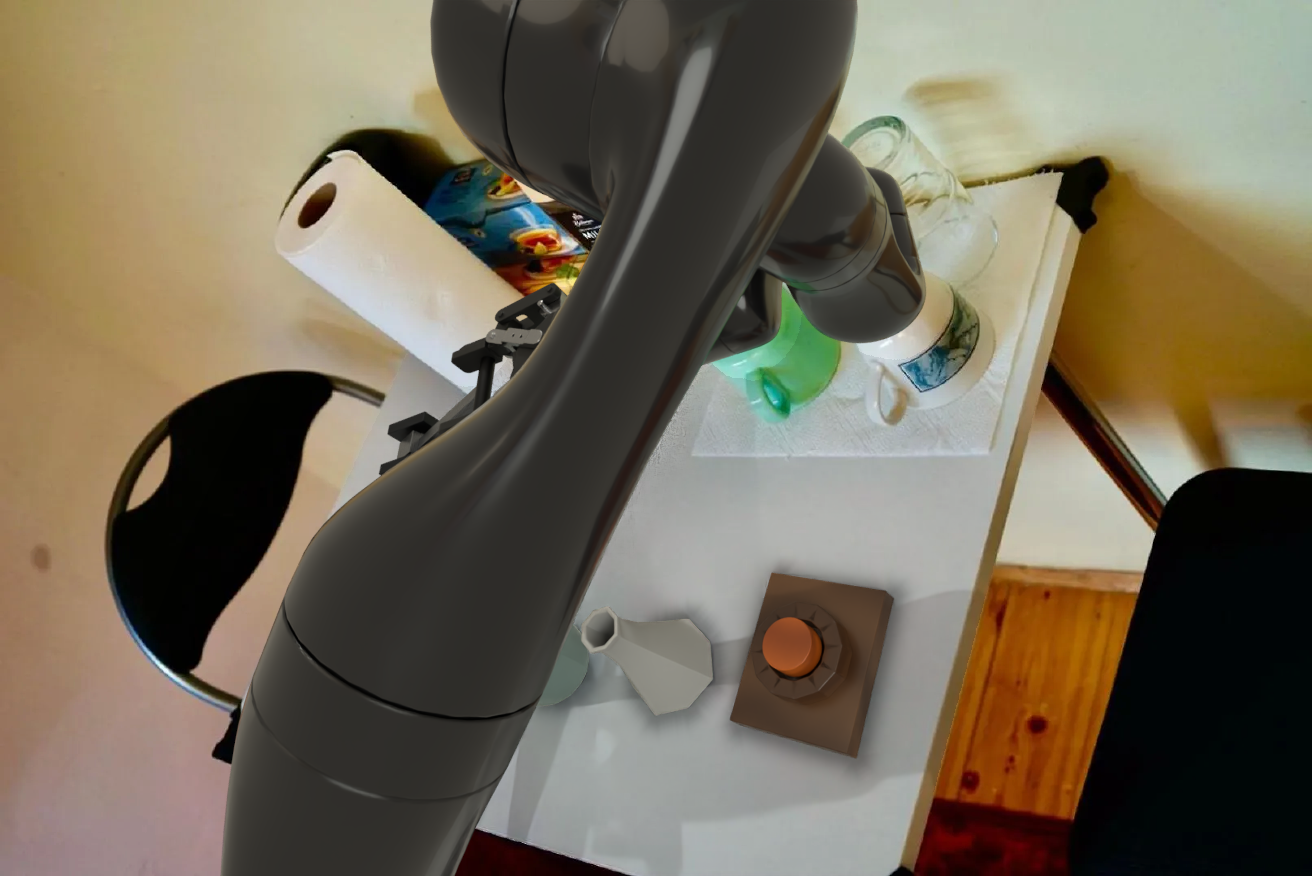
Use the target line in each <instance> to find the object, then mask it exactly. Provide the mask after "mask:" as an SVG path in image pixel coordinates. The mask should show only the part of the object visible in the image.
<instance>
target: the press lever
mask: <svg viewBox="0 0 1312 876" xmlns="http://www.w3.org/2000/svg"><path fill="white" fill-rule="evenodd" d="M495 363H496V361H495V359H494V358H492V357H489V356H485V357H482V358H481V360H480V366H479V370H478V373H477V378H476V385H475V387H474V388H473V389H472V390H470V391H469V392H468V393H467V394H466V395H465V396H464V397H463V398H462V399H460V400H459V401H458V402H457V403H456V405H454V406H453V407H452V408H451V409H450V410H449V411H447V412H446V414H444V415H443V416H442V417H441V418H440V419H438V420H439V421H438V422H437V423H436V424H435V425H434V426H433V427H432V428H430V429H429V430H428V431H427V432H426V433H425V434H422V433H420V432H417V431H414V430H413V431H412V432H411V433H410V434H409V435H408V436H407V437H406V438H405V439H403V440H402V441H401V442H399V445H398V449H397V455H396V459H397V458H400V457H403V456H406V455H409V454H412V453H414V452H416V451H417V450H419V449H420V448H422V447H423V446H425V445H426V444H428V443H429V442H431V441H432V440H434V439H435V438H437V437H438V436H440V435H439V433H438V432H439V426H440V424H441V423H443V422H446V421H449V420H452V419H455V418H458V417H461V416H464V415H466V414H469V413H472V412H473V411H475V410H476V409H478V408H479V407H480V406H482V405H483V404H484V403H485V402H486V401H488V400H489V399H490V398H491V397H492V392H493V391H492V390H493V384H494V377H495V369H496V364H495Z"/></svg>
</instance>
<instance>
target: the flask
mask: <svg viewBox="0 0 1312 876" xmlns="http://www.w3.org/2000/svg"><path fill="white" fill-rule="evenodd" d="M581 634H582V635H581V641H582V643H583V644H584V645H585V647H586V648H587V649H588V653H589V654H592V655H596V654H597V655H598V654H599V653H600V654H603V655H604V656H607V657H608V658H609V659H611V660H612V661H613V662H614V663H615V664H616V665H617V666H618V667H620V669H621V670H622V672H623V673H624V675H625V677H626V678H627V680H628V682H629V683H630V685H631V686H632V688H633V689H634V690H635V691H636V693H637V694H638V695H639V697H640V698H641V700H643V702H644V703H645V704H646V705H647V707H648V708H649V709H650V711H651V712H652V714H654V717H655V716H656V717H657V716H661V715H664V714H669V713H674V712H677V711H682V710H687V709H689V708H690V706H691V705H692V704H693V703H695V701H696V700H697V698H699V696H700V695H701V694H702V693H703V692H704V690H705V689H706V688H707V687H708V686H709V685H710V683H711V682H712V681H713V680H714V674H713V672H714V671H713V661H712V647H711V641H710V640H709V639H708V638H707V636H705V634H704V633H703V632H702V631H701V630H700V629H699V628H698V627H697V626H696V625H695V624H694V622H693V621H692V620H691V619H690V618H681V619H671V620H669V619H668V620H655V621H635V620H630V619H627V618H626V619H625V618H623V617H620V616H618V615H617V613H616V612H615V611H614V610H613V608H612V607H611V606H609V605H607V606H603V607H599V608H597V609H593V610H592V611H591V612H590V613H589V614H588V616H587V617H586V618H585V619H584V620H583V621H582V623H581Z"/></svg>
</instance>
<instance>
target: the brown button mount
mask: <svg viewBox="0 0 1312 876" xmlns="http://www.w3.org/2000/svg"><path fill="white" fill-rule="evenodd" d="M894 601H895V598H894V597H893V596H892V595H891V594H890V593H889V592H888V591H887V590H885V589H878V588H872V587H866V586H859V585H853V584H847V583H841V582H835V581H828V580H823V579H816V578H811V577H803V576H797V575H790V574H785V573H779V572H771V573H770V575H769V579H768V582H767V587H766V590H765V593H764V596H763V600H762V604H761V608H760V610H759V611H760V612H759V613H758V618H757V621H756V625H755V629H754V632H753V635H752V639H751V642H750V646H749V649H748V653H747V657H746V660H745V664H744V667H743V671H742V674H741V677H740V682H739V685H738V688H737V693H736V696H735V699H734V702H733V706H732V709H731V712H730V717H729V721H730V722H732V723H735V724H737V725H738V726H741V727H745V728H748V729H752V730H755V731H758V732H762V733H765V734H769V735H772V736H775V737H779V738H782V739H786V740H790V741H793V742H796V743H799V744H803V745H807V746H810V747H813V748H817V749H821V750H823V751H826V752H830V753H834V754H837V755H841V756H845V757H848V758H852V759H855V760H857V758H858V754H859V751H860V746H861V743H862V738H863V734H864V730H865V726H866V720H867V717H868V711H869V709H870V703H871V700H872V695H873V691H874V687H875V683H876V678H877V674H878V669H879V665H880V661H881V656H882V652H883V648H884V644H885V639H886V636H887V630H888V627H889V622H890V618H891V614H892V609H893V606H894ZM786 617H793V618H797V619H800V620H801V621H803V622H804V623H806V624H807V625H808V626H810V627H811V628H812V629H814V630H815V631H816V632H817V634H818V635H819V637H820V640H821V644H822V653H821V657H820V660H819V662H818V664H817V665H816V667H815V668H814V669H813V670H812V671H811V672H809V673H808V674H806V675H803V676H800V677H791V676H787V675H785V674H783V673H782V672H780V671H778V670H777V669H775V668H773V667H772V666H771V665H770V664H769V663H768V662H767V661H766V659H765V657H764V654H763V648H762V645H763V639H764V636H765V633H766V631H767V630H768V628H769V627H770V626H771V625H772V624H773V623H774V622H776V621H777V620H779V619H782V618H786Z"/></svg>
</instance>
